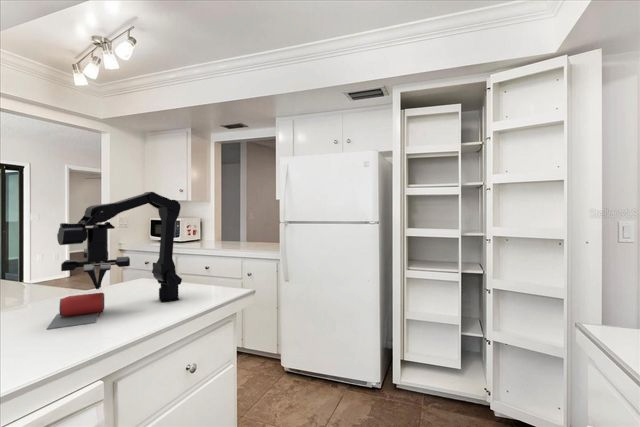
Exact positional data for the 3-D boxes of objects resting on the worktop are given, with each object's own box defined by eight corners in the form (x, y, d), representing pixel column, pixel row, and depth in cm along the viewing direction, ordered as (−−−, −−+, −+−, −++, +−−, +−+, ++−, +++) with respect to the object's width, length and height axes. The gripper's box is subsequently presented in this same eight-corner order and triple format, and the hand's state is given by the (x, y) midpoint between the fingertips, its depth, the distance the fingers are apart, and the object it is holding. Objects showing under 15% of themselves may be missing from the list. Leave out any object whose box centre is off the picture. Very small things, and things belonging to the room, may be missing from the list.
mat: (99, 309, 117) (99, 308, 117) (95, 322, 103) (95, 321, 103) (57, 314, 111) (57, 313, 111) (46, 329, 97) (46, 328, 97)
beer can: (104, 290, 112) (59, 295, 106) (104, 310, 110) (58, 316, 104) (104, 293, 117) (62, 298, 111) (104, 312, 115) (61, 318, 109)
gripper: (129, 239, 121) (129, 281, 121) (66, 241, 112) (67, 287, 112) (129, 242, 112) (129, 287, 112) (60, 244, 102) (61, 294, 102)
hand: (97, 289), depth 110 cm, fingers closed
